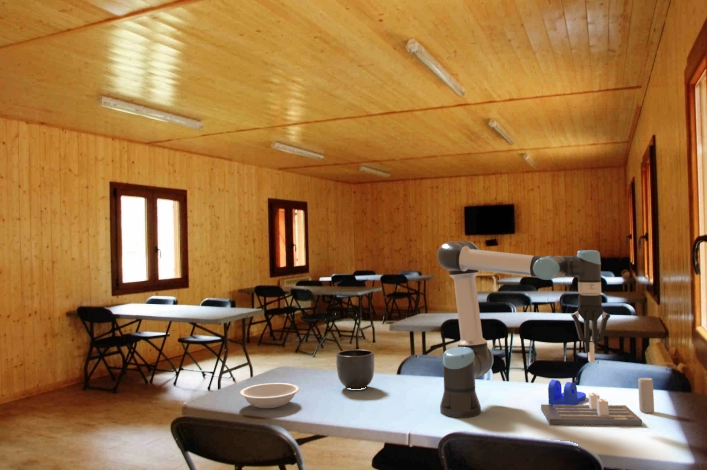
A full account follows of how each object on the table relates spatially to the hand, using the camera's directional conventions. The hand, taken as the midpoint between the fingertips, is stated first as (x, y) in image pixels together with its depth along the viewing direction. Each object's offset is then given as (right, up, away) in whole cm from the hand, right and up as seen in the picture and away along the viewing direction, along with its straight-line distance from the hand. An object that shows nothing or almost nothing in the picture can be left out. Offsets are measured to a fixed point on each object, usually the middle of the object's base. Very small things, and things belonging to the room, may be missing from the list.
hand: (591, 361), depth 201 cm
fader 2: (+4, -18, -1) cm, 19 cm away
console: (+1, -21, +4) cm, 21 cm away
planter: (-82, -25, +56) cm, 103 cm away
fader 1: (+4, -19, +7) cm, 20 cm away
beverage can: (+23, -20, +8) cm, 32 cm away
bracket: (+2, -22, +25) cm, 33 cm away
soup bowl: (-117, -26, +32) cm, 124 cm away
